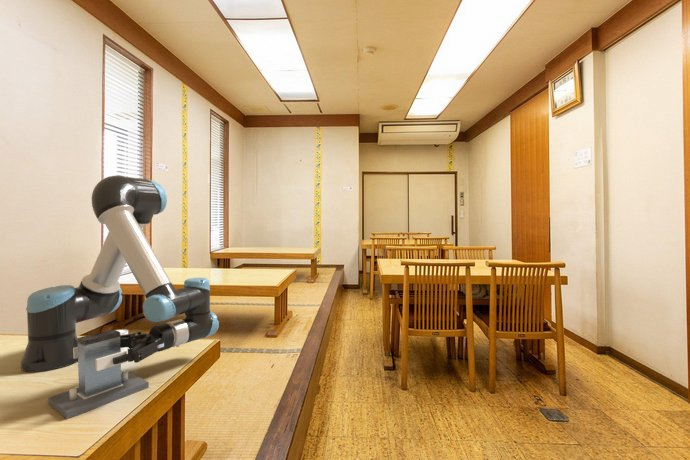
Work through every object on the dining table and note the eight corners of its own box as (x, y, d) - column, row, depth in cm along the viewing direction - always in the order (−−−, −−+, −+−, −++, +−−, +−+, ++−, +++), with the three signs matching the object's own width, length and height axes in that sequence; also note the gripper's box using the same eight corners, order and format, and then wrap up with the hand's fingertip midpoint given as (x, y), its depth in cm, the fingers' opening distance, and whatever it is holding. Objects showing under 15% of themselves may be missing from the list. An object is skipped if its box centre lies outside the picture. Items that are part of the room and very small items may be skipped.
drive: (78, 393, 88) (77, 337, 87) (114, 381, 94) (113, 329, 94) (85, 397, 85) (84, 340, 85) (121, 384, 92) (120, 332, 92)
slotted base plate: (48, 403, 86) (47, 387, 86) (127, 376, 101) (126, 362, 100) (66, 419, 79) (66, 401, 79) (148, 387, 94) (148, 372, 94)
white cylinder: (116, 348, 123) (116, 328, 123) (133, 349, 122) (133, 329, 122) (99, 355, 117) (99, 334, 116) (117, 357, 115) (116, 336, 115)
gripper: (193, 356, 97) (107, 387, 80) (147, 340, 111) (65, 362, 94) (192, 330, 97) (106, 354, 80) (146, 316, 111) (65, 335, 94)
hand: (84, 359), depth 87 cm, fingers open, 13 cm apart
